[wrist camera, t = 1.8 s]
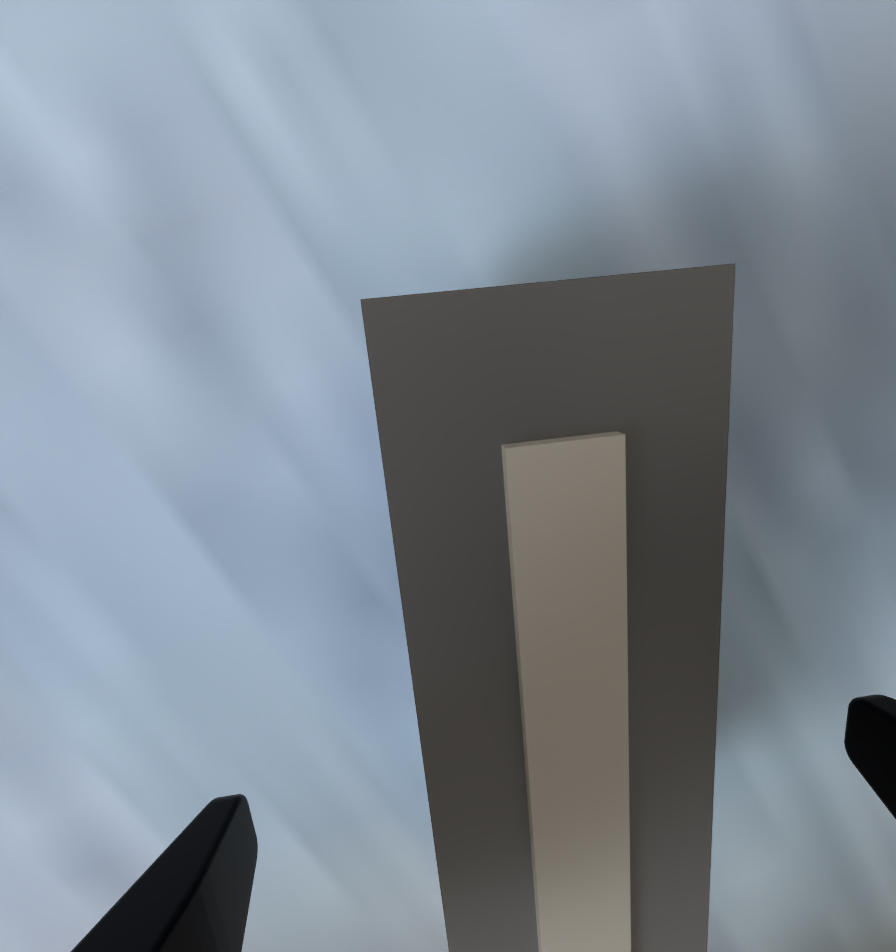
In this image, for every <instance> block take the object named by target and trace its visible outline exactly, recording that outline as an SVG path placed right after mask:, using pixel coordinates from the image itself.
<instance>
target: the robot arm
mask: <svg viewBox="0 0 896 952" xmlns="http://www.w3.org/2000/svg"><path fill="white" fill-rule="evenodd" d="M844 744H845V749H846V752H847V754H848V756H849V758H850V760H851V761H852V763H853V764H854V765H855V767H856V768H857V769H858V771H859V772H860V773H861V775H862V776H863V777H864V778H865V780H866V781H867V782H868V784H869V785H870V786H871V788H872V789H873V790H874V791H875V793H876V794H877V795H878V797H879V798H880V799H881V801H882V802H883V803H884V805H885V806H886V807H887V808H888V810H889V811H890V812H891V814H892V815H893V816H894V818H895V819H896V700H895V699H893V698H890V697H887V696H884V695H870V696H864V697H857V698H854V699H852V701H851V702H850V703H849V706H848V714H847V722H846V731H845V740H844ZM257 851H258V845H257V837H256V833H255V829H254V825H253V821H252V817H251V813H250V809H249V804H248V801H247V799H246V797H245V796H244V795H241V794H237V795H230V796H224V797H218V798H215V799H213V800H212V801H211V802H210V803H209V804H207V806H206V807H205V808H204V809H203V810H202V811H201V812H200V813H199V814H198V815H197V816H196V817H195V818H194V820H193V821H192V822H191V823H190V824H189V825H188V826H187V827H186V828H185V829H184V830H183V831H182V832H181V834H180V835H179V836H178V837H177V838H176V839H175V840H174V841H173V842H172V843H171V844H170V845H169V846H168V848H167V849H166V850H165V851H164V852H163V853H162V854H161V855H160V856H159V857H158V858H157V859H156V860H155V862H154V863H153V864H152V865H151V866H150V867H149V868H148V869H147V870H146V871H145V872H144V873H143V874H142V876H141V877H140V878H139V879H138V880H137V881H136V882H135V883H134V884H133V885H132V886H131V887H130V888H129V890H128V891H127V892H126V893H125V894H124V895H123V896H122V897H121V898H120V899H119V900H118V901H117V902H116V904H115V905H114V906H113V907H112V908H111V909H110V910H109V911H108V912H107V913H106V914H105V915H104V916H103V918H102V919H101V920H100V921H99V922H98V923H97V924H96V925H95V926H94V927H93V928H92V929H91V930H90V932H89V933H88V934H87V935H86V936H85V937H84V938H83V939H82V940H81V941H80V942H79V943H78V944H77V946H76V947H75V948H74V949H73V950H72V951H71V952H241V951H242V945H243V939H244V933H245V927H246V921H247V915H248V909H249V903H250V897H251V891H252V885H253V879H254V873H255V867H256V861H257Z"/></svg>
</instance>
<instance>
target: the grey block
mask: <svg viewBox="0 0 896 952" xmlns="http://www.w3.org/2000/svg"><path fill="white" fill-rule="evenodd" d="M734 284H735V264H726V265H715V266H705V267H694V268H684V269H673V270H663V271H652V272H642V273H632V274H621V275H611V276H600V277H590V278H579V279H569V280H558V281H548V282H537V283H527V284H517V285H506V286H496V287H485V288H475V289H464V290H454V291H443V292H433V293H422V294H412V295H402V296H391V297H381V298H370V299H361V307H362V314H363V321H364V329H365V336H366V344H367V351H368V358H369V366H370V373H371V380H372V388H373V395H374V402H375V410H376V417H377V425H378V432H379V439H380V447H381V454H382V461H383V469H384V476H385V484H386V491H387V498H388V506H389V513H390V520H391V528H392V535H393V542H394V550H395V557H396V565H397V572H398V579H399V587H400V594H401V601H402V609H403V616H404V624H405V631H406V638H407V646H408V653H409V660H410V668H411V675H412V682H413V690H414V697H415V705H416V712H417V719H418V727H419V734H420V741H421V749H422V756H423V764H424V771H425V778H426V786H427V793H428V800H429V808H430V815H431V822H432V830H433V837H434V845H435V852H436V859H437V867H438V874H439V881H440V889H441V896H442V904H443V911H444V918H445V926H446V933H447V940H448V948H449V952H707V941H708V916H709V892H710V868H711V843H712V819H713V795H714V770H715V746H716V722H717V697H718V673H719V649H720V624H721V600H722V576H723V551H724V527H725V503H726V478H727V454H728V430H729V405H730V381H731V357H732V332H733V308H734Z"/></svg>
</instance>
